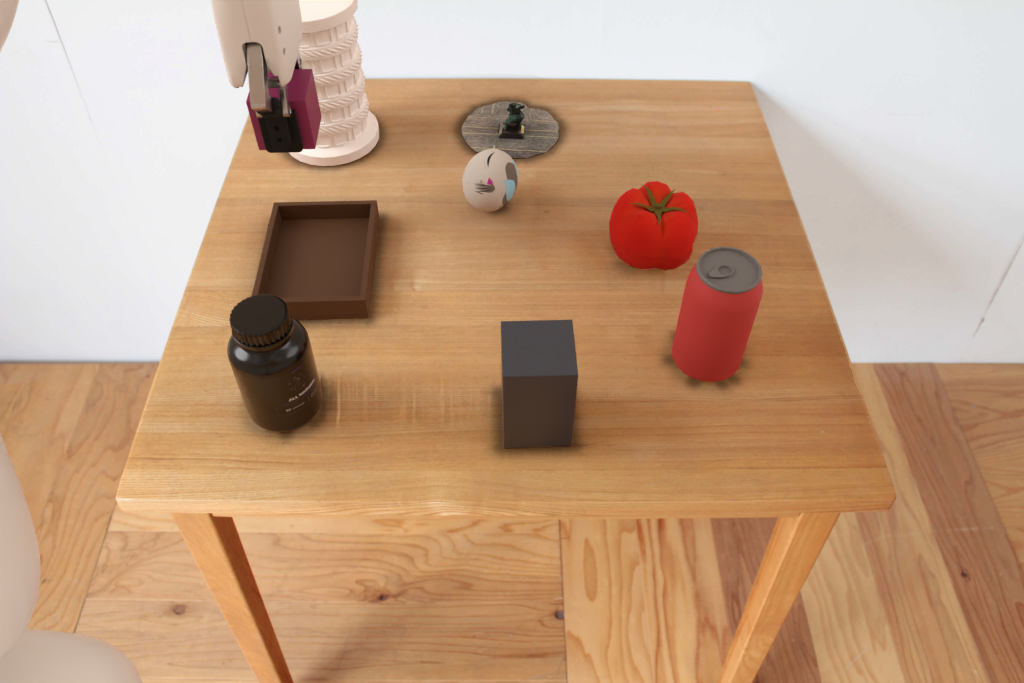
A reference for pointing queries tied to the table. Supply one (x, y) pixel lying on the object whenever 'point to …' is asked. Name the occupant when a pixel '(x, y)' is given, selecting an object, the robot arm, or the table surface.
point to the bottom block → (538, 383)
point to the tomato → (653, 227)
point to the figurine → (490, 180)
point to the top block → (296, 107)
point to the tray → (320, 258)
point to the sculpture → (511, 129)
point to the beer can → (717, 314)
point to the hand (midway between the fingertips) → (289, 129)
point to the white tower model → (336, 83)
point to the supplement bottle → (273, 364)
